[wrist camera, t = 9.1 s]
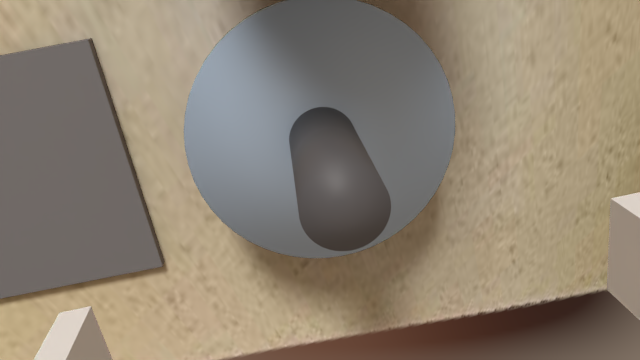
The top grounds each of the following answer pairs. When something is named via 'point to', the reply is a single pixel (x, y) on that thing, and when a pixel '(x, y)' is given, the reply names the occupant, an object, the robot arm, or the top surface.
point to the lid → (319, 127)
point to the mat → (66, 175)
